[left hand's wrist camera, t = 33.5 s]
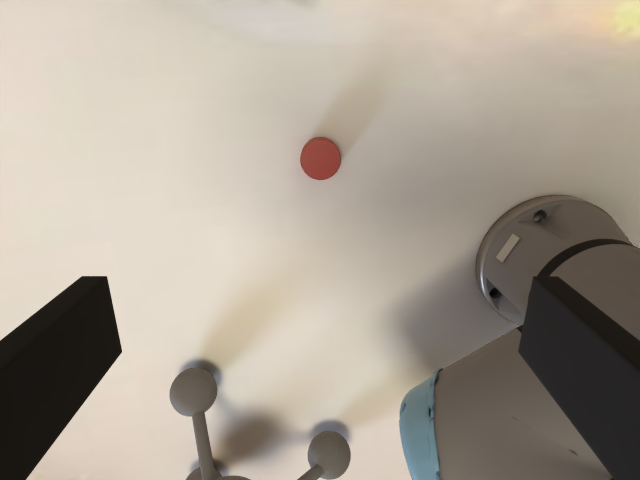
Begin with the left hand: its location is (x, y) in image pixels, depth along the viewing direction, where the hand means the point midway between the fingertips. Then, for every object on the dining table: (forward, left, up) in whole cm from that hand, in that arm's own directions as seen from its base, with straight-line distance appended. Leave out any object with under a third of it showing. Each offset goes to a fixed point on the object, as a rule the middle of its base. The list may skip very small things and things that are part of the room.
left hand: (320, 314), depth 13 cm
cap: (0, 0, -30) cm, 30 cm away
